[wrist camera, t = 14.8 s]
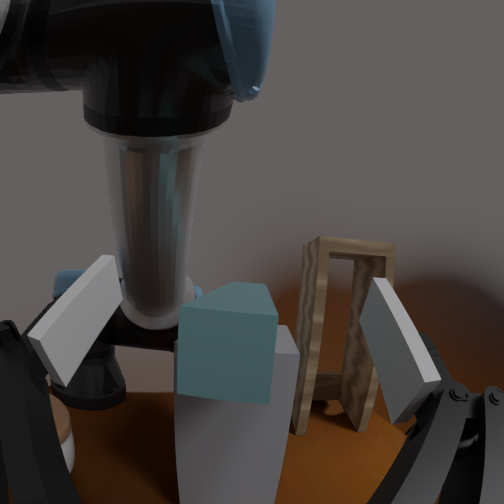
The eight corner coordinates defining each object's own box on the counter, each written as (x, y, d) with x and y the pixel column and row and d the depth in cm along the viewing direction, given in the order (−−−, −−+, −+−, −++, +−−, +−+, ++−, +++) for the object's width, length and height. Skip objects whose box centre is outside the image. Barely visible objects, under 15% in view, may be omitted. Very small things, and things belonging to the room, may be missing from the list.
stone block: (269, 521, 17) (300, 354, 19) (180, 511, 18) (174, 341, 19) (267, 466, 28) (286, 325, 29) (198, 459, 28) (202, 318, 29)
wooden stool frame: (365, 431, 36) (395, 243, 38) (295, 435, 36) (319, 236, 38) (343, 396, 51) (361, 250, 53) (287, 396, 51) (303, 245, 53)
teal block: (268, 404, 11) (278, 315, 11) (177, 393, 11) (179, 305, 11) (262, 315, 35) (265, 284, 35) (231, 312, 35) (233, 281, 35)
